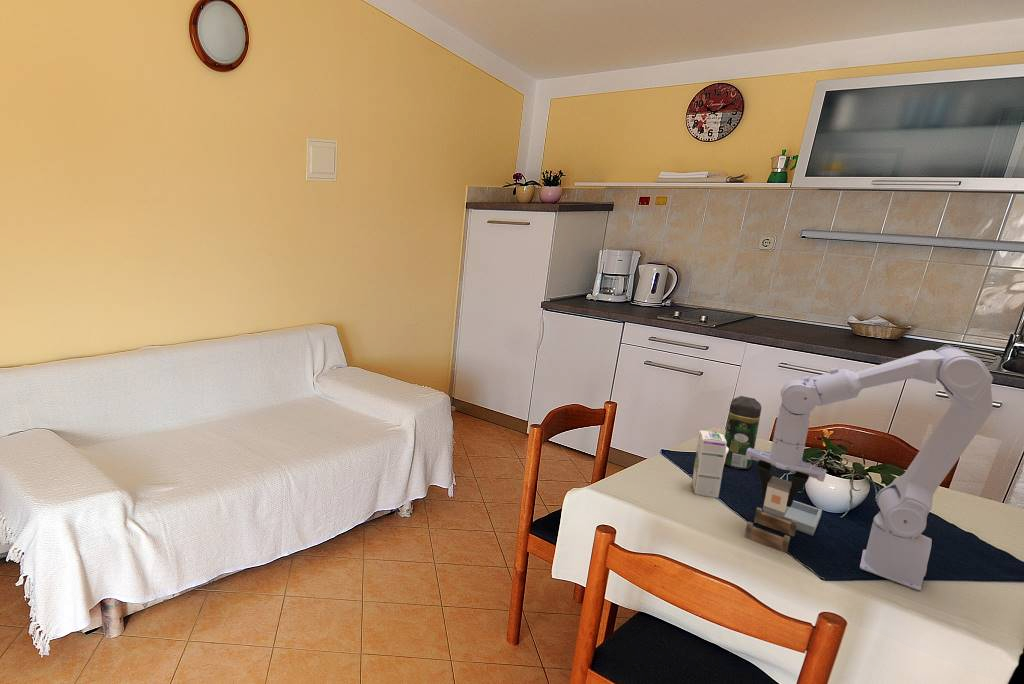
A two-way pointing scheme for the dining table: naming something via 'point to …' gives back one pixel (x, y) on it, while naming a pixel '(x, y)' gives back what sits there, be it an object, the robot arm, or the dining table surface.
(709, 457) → the syrup box
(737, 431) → the coffee jar
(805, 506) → the tray
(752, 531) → the rail holder
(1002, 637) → the dining table surface
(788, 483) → the small beige carton
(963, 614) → the dining table surface
